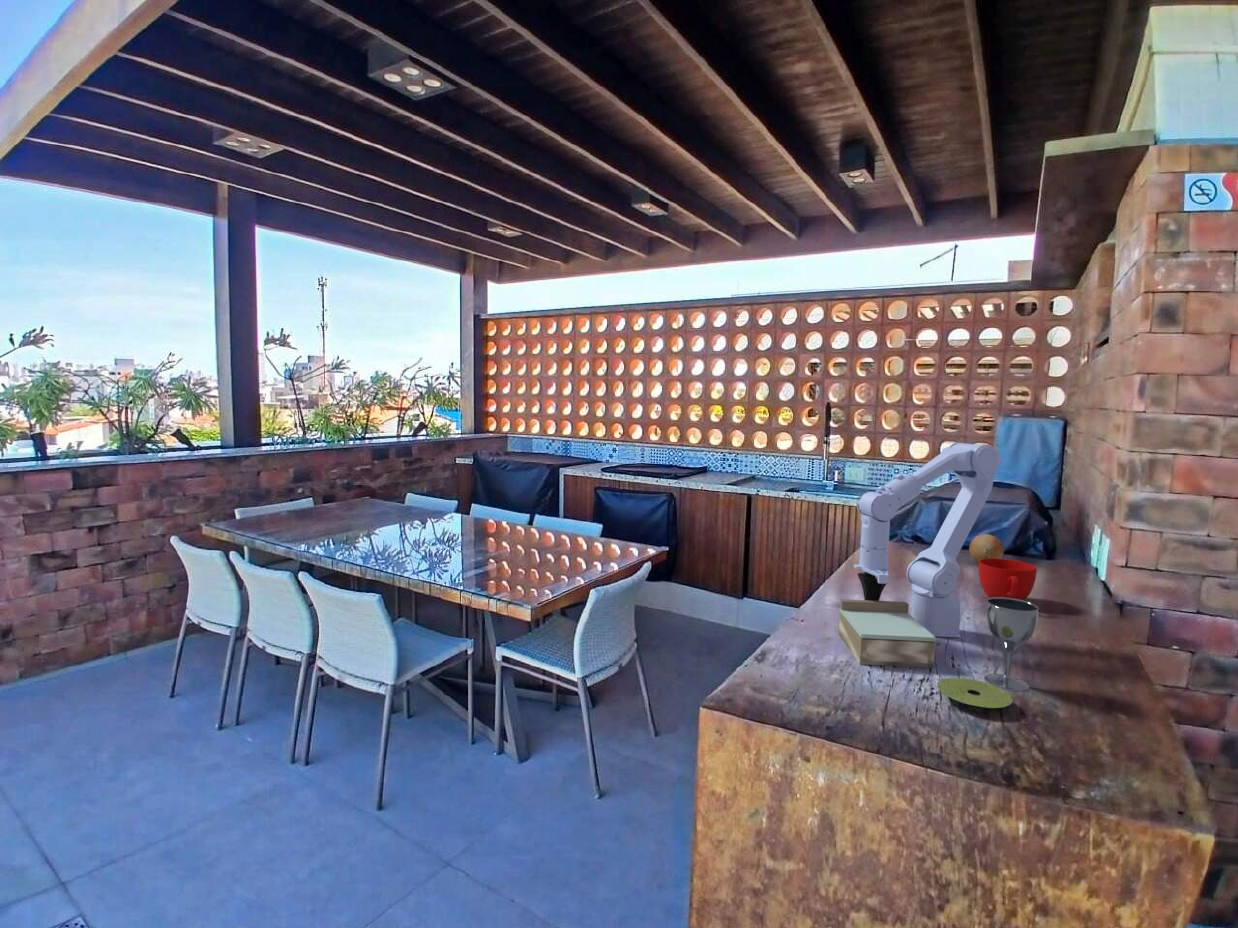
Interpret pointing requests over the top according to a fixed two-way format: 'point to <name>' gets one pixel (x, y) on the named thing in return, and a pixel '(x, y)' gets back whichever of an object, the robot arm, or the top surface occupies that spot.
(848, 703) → the top surface
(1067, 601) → the top surface
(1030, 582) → the ceramic cup
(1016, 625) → the wine glass
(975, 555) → the onion
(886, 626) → the lid
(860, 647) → the box
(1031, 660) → the top surface
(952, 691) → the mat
